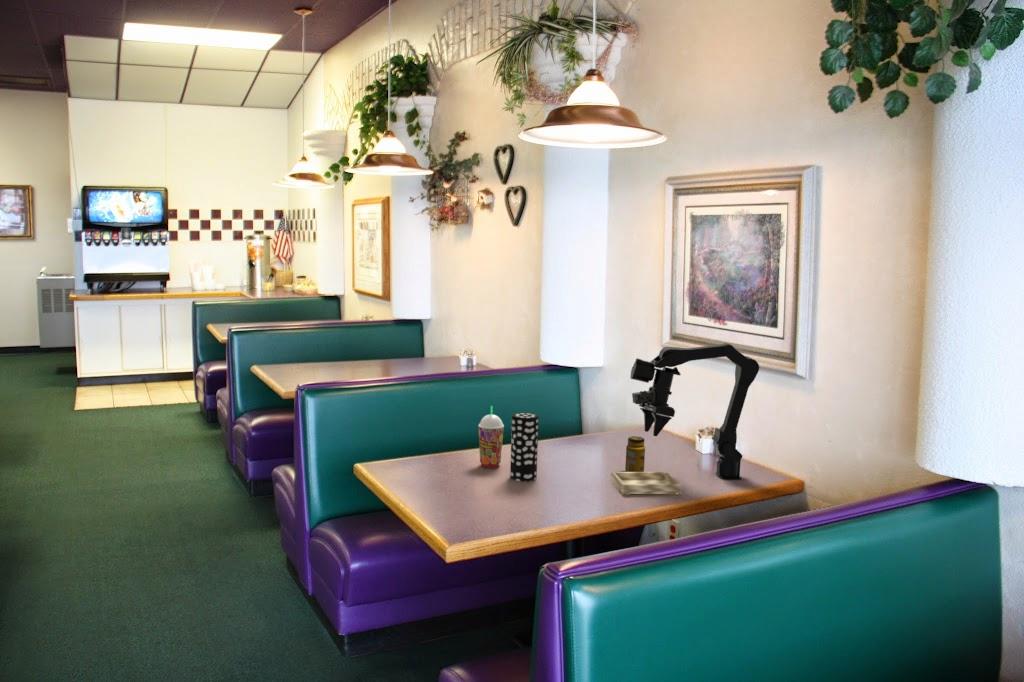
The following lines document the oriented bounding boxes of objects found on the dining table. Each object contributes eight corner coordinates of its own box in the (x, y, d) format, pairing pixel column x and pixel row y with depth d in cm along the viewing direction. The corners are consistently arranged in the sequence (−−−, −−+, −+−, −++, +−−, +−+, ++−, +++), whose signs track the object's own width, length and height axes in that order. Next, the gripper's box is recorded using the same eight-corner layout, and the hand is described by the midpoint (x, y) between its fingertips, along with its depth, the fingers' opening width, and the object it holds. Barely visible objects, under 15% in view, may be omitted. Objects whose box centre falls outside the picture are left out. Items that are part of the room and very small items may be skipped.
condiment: (649, 475, 280) (651, 439, 278) (629, 478, 275) (631, 442, 274) (634, 469, 286) (636, 434, 284) (614, 473, 281) (616, 437, 280)
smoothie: (473, 467, 283) (474, 407, 280) (483, 461, 291) (485, 402, 288) (496, 470, 280) (498, 409, 277) (506, 464, 288) (508, 405, 285)
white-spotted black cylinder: (540, 476, 275) (542, 414, 272) (530, 483, 267) (532, 419, 265) (516, 472, 278) (518, 411, 276) (505, 479, 271) (507, 416, 268)
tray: (666, 480, 274) (667, 471, 273) (680, 494, 260) (681, 484, 260) (610, 481, 271) (611, 472, 271) (622, 495, 258) (622, 485, 257)
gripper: (629, 378, 285) (619, 424, 285) (646, 383, 266) (634, 433, 266) (661, 385, 286) (650, 431, 286) (680, 391, 268) (668, 440, 268)
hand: (650, 433), depth 277 cm, fingers open, 9 cm apart
